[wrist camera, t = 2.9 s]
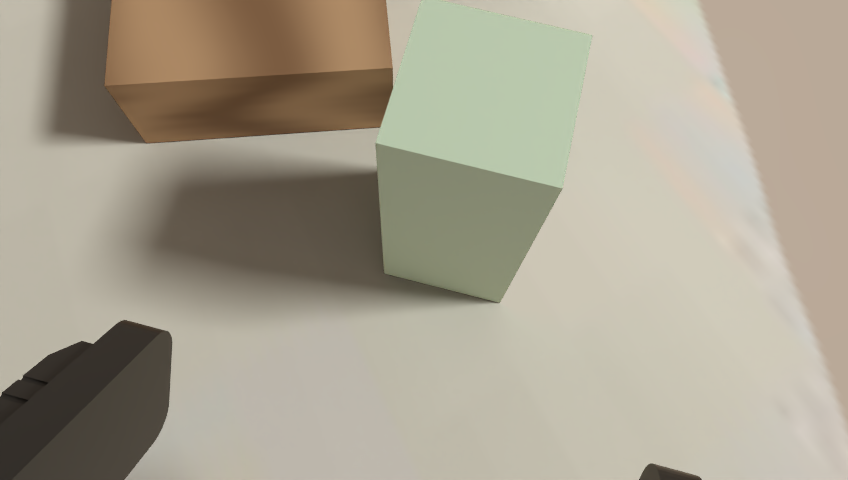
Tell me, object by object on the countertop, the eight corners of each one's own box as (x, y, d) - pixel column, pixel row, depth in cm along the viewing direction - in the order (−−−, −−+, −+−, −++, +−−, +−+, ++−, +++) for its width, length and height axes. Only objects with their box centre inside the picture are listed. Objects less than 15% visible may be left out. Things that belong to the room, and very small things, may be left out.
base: (146, 143, 26) (104, 85, 22) (157, -49, 30) (122, -127, 26) (393, 126, 27) (392, 67, 23) (375, -60, 30) (372, -137, 27)
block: (499, 303, 24) (562, 188, 15) (384, 273, 25) (375, 142, 15) (522, 197, 26) (592, 35, 17) (413, 170, 26) (422, -4, 17)
